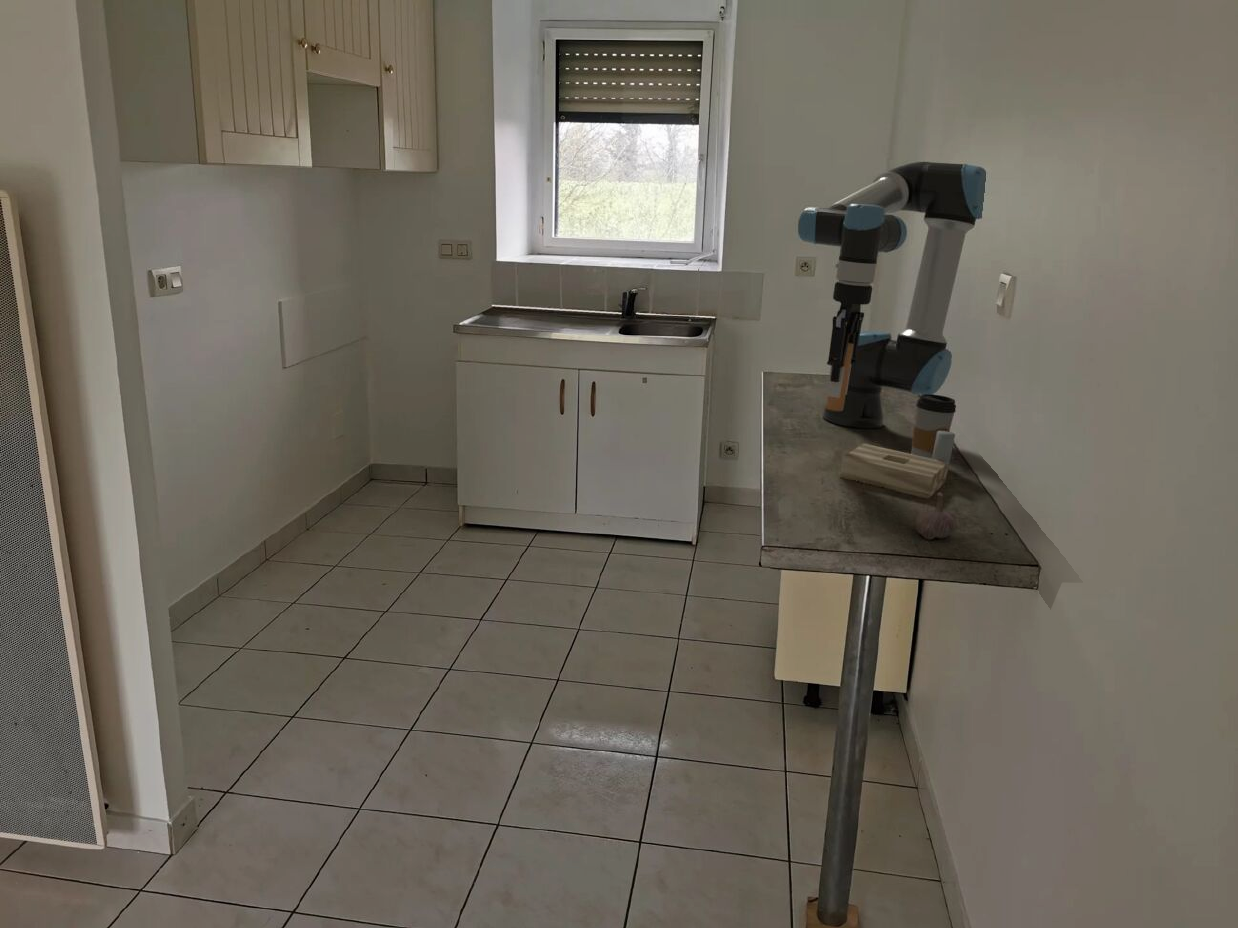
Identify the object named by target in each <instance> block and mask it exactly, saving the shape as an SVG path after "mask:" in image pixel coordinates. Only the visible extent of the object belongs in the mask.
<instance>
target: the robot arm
mask: <svg viewBox="0 0 1238 928" xmlns="http://www.w3.org/2000/svg"><path fill="white" fill-rule="evenodd" d="M986 172H987V170H986V169H985V168H984V167H982V166H978V165H972V164H968V163H964V164H963V163H951V162H950V163H949V162H948V163H947V162H945V163H944V162H933V161H932V162H930V161H917V162H915V161H914V162H912V163H911V162H910V163H907V164H903V165H899V166H897V167H894V168H891V169H888V170H887V171H884V172H883V173H881V174H879V175H877V176H876V177H875V179H874V180H873V181H872V183H870V184H869V185H867V186H865V187H863V188H861V189H860V190H857V191H856V192H854V193H851V194H850V195H848V196H846V197H845V198H842V199H840V200H837V202H834V203H833V204H831V205H828V206H827V207H819V206H810V207H809V206H808V207H806V208H804V210H802V212H801V213H800V216H799V219H798V220H797V221H798V222H797V233H798V236H799V238H800V240H802V241H803V242H806V243H812V244H814V245H823V246H832V247H839V248H840V251H839V255H838V263H836V264H835V266H834V267H835V268H836V275H835V276H836V277H835V278H836V280H838V281H836V282H835V283H834V288H833V294H832V298H833V300H834V301H835V302H836V303H837V302H839V303H840V305H839V310H837V312H836V315H835V316H833V317H832V331H831V337H830V345H829V352H828V359H827V362H826V364H827V365H828V366H830V371H829V378H828V384H827V391H826V396H827V397H828V396H831V397H836V398H840V395H841V389H842V383H843V376H844V370H845V367H843V365H844V360H845V356H846V351H847V346H848V343H852V344H854V345H853V352H852V358H851V364H850V370H849V377H848V383H847V389H846V395H845V402H844V408H843V411H832V410H829V409H826V404H827V402H826V404H825V405H824V407H823V412H822V418H823V419H824V420H825V421H827V422H830V423H833V424H836V425H840V426H844V427H850V428H857V429H878V428H881V427H883V424H884V423H883V422H884V417H885V416H884V411H883V403H882V397H881V393H882V389H883V387H885V388H888V389H889V388H890V389H894V390H897V391H898V390H899V391H902V392H907V393H911V394H913V395H922V394H933V395H935V394H936V393H937V392H938V391H939V390H940V389H941V387H942V386H943V385H944V383H945V381H946V379H947V377H948V375H949V373H950V369H951V366H952V358H953V353H952V351H950V350H949V349H946V348H947V345H948V341H947V339H946V338H945V336H944V335H943V333H944V328H945V325H946V320H947V316H948V311H949V308H950V303H951V298H952V294H953V290H954V287H955V286H954V285H955V281H956V277H957V273H958V269H959V263H960V260H961V255H962V251H963V246H964V243H965V239H966V236H967V235H966V234H967V233H968V232H969V231H970V230H972V229H974V228H975V225H976V222H977V221H976V220H980V219H983V218H982V211H983V202H984V193H985V182H986ZM899 211H909V212H915V213H923V214H924V216H923V221H924V223H925V225H927V227H928V228H927V233H926V237H925V243H924V247H923V251H922V254H921V255H922V256H921V259H920V263H919V264H920V265H919V270H918V273H917V277H916V282H915V285H914V286H915V287H914V290H913V296H912V300H911V305H910V308H909V313H908V314H909V315H908V318H907V323H906V327H905V328H904V329H903V330H900V332H898V334H897V339H892V333H890V332H888V331H887V332H886V331H878V330H877V331H876V330H875V331H874V330H873V331H872V330H871V331H870V330H869V331H868V330H863V331H862V324H863V322H864V317H865V312H862V311H861V308H862V307H861V306H863V305H864V306H866V305H869V304H870V302H871V299H872V294H873V286H872V285H871V284H873V283H874V282H875V277H876V276H875V275H876V271H877V269H876V268H877V263H878V262H877V261H878V257H879V253H889V252H892V251H896V250H898V249H899V248H901V246H903V244H904V243H905V242H906V239H907V235H908V229H907V225H906V223H905V222H904V220H903V219H902V218H901V217H900V216H899V217H898V216H897V215H894V213H895V214H896V213H897V212H899Z"/></svg>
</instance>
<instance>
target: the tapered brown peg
mask: <svg viewBox="0 0 1238 928" xmlns="http://www.w3.org/2000/svg"><path fill="white" fill-rule="evenodd" d="M853 345H854V344H852V343H848V346H847V351H846V356H845V360H844V365H843V367H845V370H844V376H843V383H842V389H841V395H840V398H836V397H831V396H827V399H826V403H827V404H825V405H826V409H829V410H832V411H843V408H844V402H845V395H846V389H847V383H848V377H849V370H850V364H851V358H852V352H853Z"/></svg>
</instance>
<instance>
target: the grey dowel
mask: <svg viewBox="0 0 1238 928" xmlns="http://www.w3.org/2000/svg"><path fill="white" fill-rule="evenodd" d="M955 438H956V434H955V433H953V432H951V431H950V432H947V431H937V435H936V440H935V445H934V450H933V455H932V459H935V460H940V461H944V462H949V463H948V468H947V473H946V478H945V482H946V481H947V477H948V471H949V466H950V462H951V458H952V452H953V447H954V442H955Z"/></svg>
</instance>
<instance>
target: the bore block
mask: <svg viewBox="0 0 1238 928" xmlns="http://www.w3.org/2000/svg"><path fill="white" fill-rule="evenodd" d="M948 463H949V464H950V462H944V461H940V460H935V459H931V458H926V457H922V456H917V455H913V454H911V453H908V452H902V451H899V450H894V449H890V448H885V447H882V446H881V447H880V446H875V445H872V444H868V443H863V444H861V445H859V446H857V447H856V448H855V449H852V450H851V451H849V452H848V453H846V454H845V455H842V461H841V466H840V473H839V478H841V479H845V480H849V481H853V480H856V481H855V482H857V481H860V482H859V483H861V482H865V483H868V484H867V485H869V484H872V485H871V486H873V485H876V486H875V487H877V486H879V487H878V488H881V487H884V488H883V489H886V488H887V489H886V490H890V489H891V490H890V491H894V490H895V491H894V492H899V493H902V494H906V495H910V496H913V497H919V498H923V499H928V500H929V498H931V497H932V496H933V494H935V493H936V492H937V491H938V490H939V489H940V488H941V487H942V486H943V485H944V484H945V482H946V481H945V478H946V479H947V477H946V473H947V474H948V472H947V468H948V469H949V467H948ZM865 483H864V484H865Z"/></svg>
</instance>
